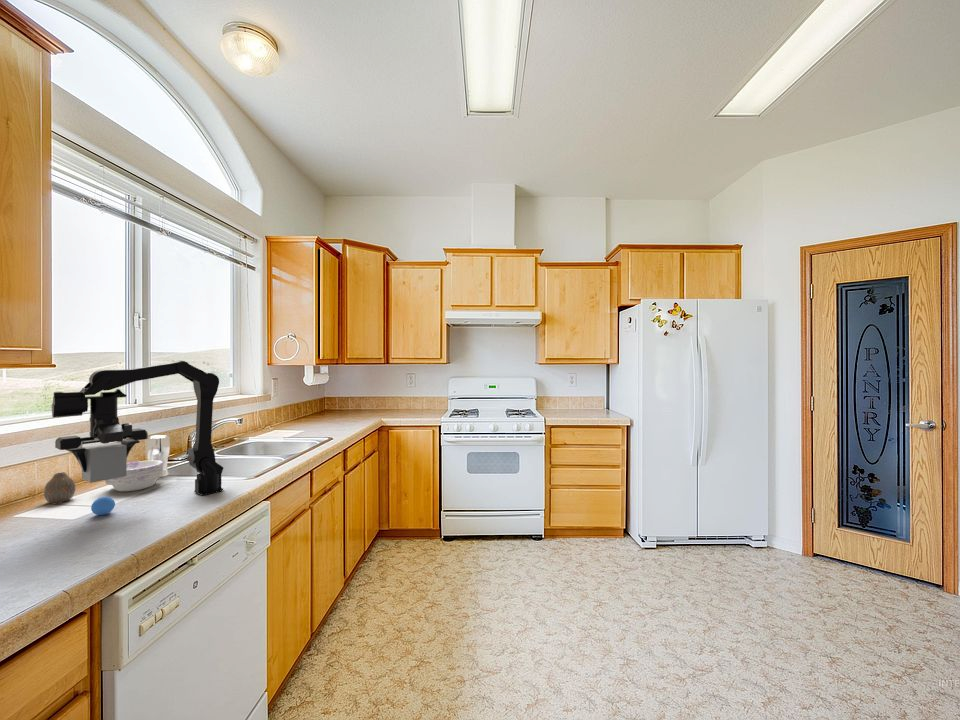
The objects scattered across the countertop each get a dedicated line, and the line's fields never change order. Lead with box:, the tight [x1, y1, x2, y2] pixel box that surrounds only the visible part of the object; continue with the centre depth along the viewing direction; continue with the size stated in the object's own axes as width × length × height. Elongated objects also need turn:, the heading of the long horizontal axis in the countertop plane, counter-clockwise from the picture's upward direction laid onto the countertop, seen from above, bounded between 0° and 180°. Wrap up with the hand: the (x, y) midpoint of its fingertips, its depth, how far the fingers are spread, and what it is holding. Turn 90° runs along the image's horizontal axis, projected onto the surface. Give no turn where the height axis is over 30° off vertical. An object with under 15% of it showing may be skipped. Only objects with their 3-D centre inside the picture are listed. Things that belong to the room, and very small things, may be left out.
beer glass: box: [146, 434, 171, 479], centre depth 155 cm, size 7×7×15 cm
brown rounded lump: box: [43, 472, 76, 504], centre depth 127 cm, size 7×7×9 cm
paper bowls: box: [104, 460, 163, 492], centre depth 141 cm, size 15×15×8 cm
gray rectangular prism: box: [81, 442, 128, 484], centre depth 116 cm, size 8×8×9 cm
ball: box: [90, 496, 116, 516], centre depth 116 cm, size 5×5×5 cm
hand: (103, 468), depth 117 cm, fingers closed on gray rectangular prism, 8 cm apart
